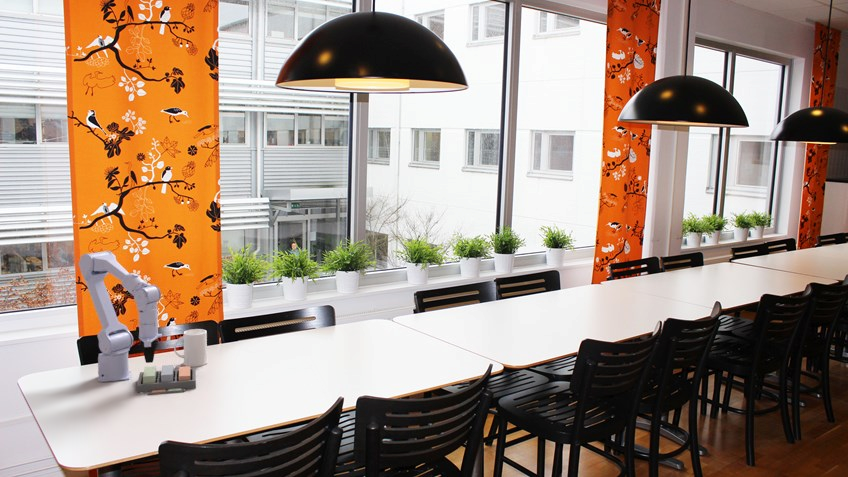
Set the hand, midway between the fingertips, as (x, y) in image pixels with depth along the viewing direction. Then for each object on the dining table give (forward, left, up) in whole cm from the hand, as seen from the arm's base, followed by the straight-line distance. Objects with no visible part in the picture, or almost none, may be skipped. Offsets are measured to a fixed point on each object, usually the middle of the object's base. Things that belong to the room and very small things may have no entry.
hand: (149, 362), depth 221 cm
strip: (+5, -8, -8) cm, 13 cm away
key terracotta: (+11, 0, -8) cm, 13 cm away
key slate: (+5, 0, -7) cm, 9 cm away
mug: (+13, +20, -8) cm, 25 cm away
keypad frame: (+5, 0, -8) cm, 10 cm away
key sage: (0, 0, -7) cm, 7 cm away
